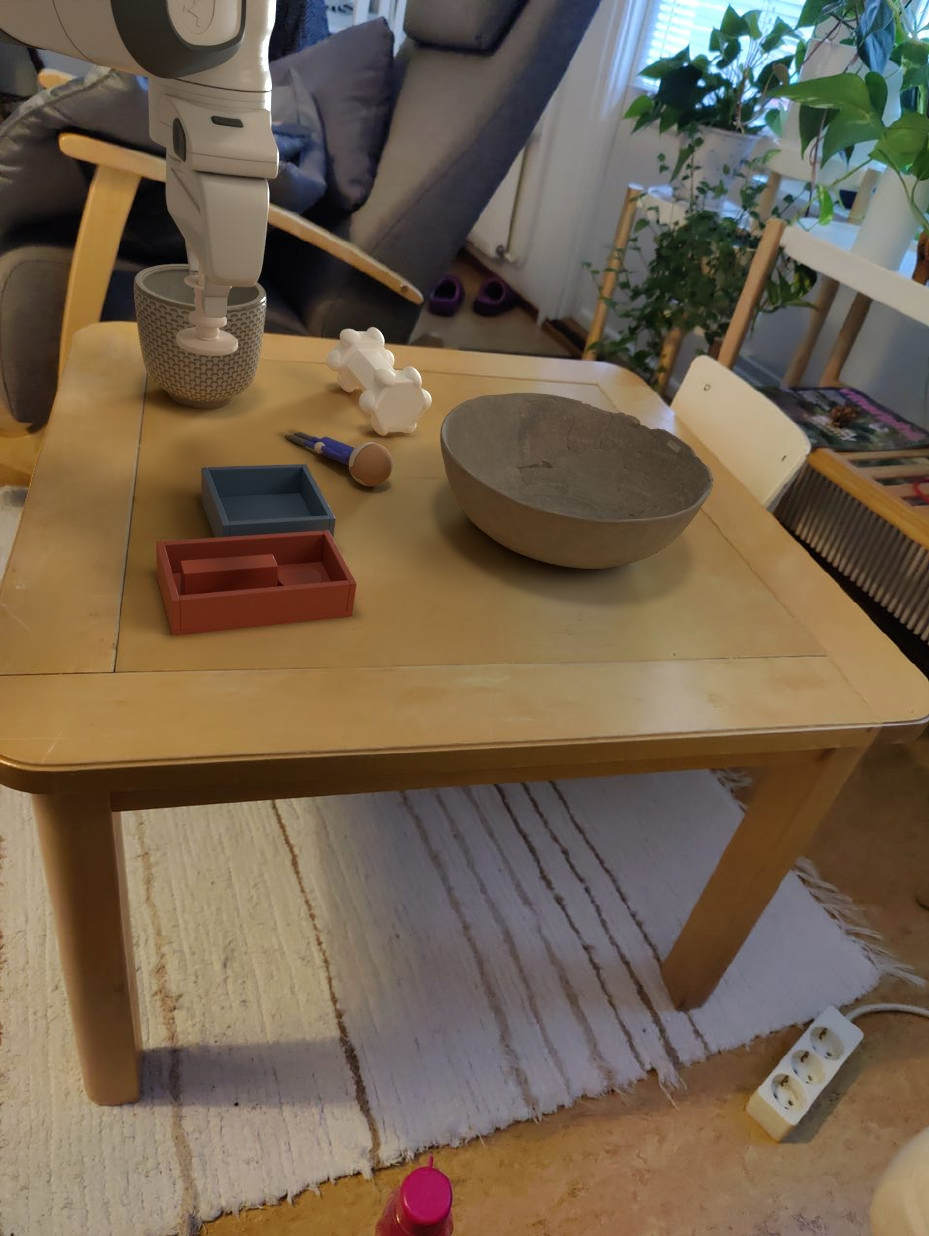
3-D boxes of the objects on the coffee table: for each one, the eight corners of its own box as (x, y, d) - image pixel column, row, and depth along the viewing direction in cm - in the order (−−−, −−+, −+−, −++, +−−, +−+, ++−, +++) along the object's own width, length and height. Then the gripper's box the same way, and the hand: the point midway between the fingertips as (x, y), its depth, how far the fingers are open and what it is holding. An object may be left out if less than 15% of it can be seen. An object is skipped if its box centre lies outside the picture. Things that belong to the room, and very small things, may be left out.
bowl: (730, 569, 93) (766, 488, 87) (542, 636, 78) (571, 542, 72) (561, 450, 109) (582, 374, 103) (376, 486, 93) (389, 399, 87)
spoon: (186, 612, 70) (186, 580, 68) (178, 585, 73) (178, 553, 71) (326, 599, 75) (329, 568, 73) (314, 573, 78) (317, 543, 76)
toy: (270, 450, 97) (366, 491, 89) (279, 409, 96) (377, 447, 88) (299, 453, 101) (395, 493, 93) (308, 414, 100) (406, 451, 92)
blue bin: (222, 559, 78) (222, 525, 76) (201, 499, 85) (201, 467, 83) (332, 550, 82) (335, 518, 80) (303, 494, 89) (306, 463, 87)
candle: (230, 333, 79) (234, 212, 73) (243, 356, 76) (248, 231, 70) (171, 331, 77) (169, 206, 71) (181, 355, 74) (181, 226, 67)
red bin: (172, 637, 68) (171, 600, 66) (156, 576, 74) (155, 541, 72) (352, 617, 75) (356, 583, 72) (325, 562, 80) (328, 529, 78)
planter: (264, 427, 99) (270, 314, 91) (134, 419, 95) (129, 300, 87) (258, 376, 109) (263, 271, 102) (141, 367, 105) (136, 256, 98)
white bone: (429, 438, 105) (440, 374, 100) (361, 440, 101) (370, 374, 96) (383, 384, 115) (391, 323, 110) (320, 385, 111) (326, 322, 106)
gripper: (145, 88, 72) (149, 260, 80) (192, 148, 58) (192, 349, 66) (223, 100, 75) (219, 265, 83) (286, 159, 61) (274, 351, 69)
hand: (207, 303), depth 74 cm, fingers closed on candle, 4 cm apart
